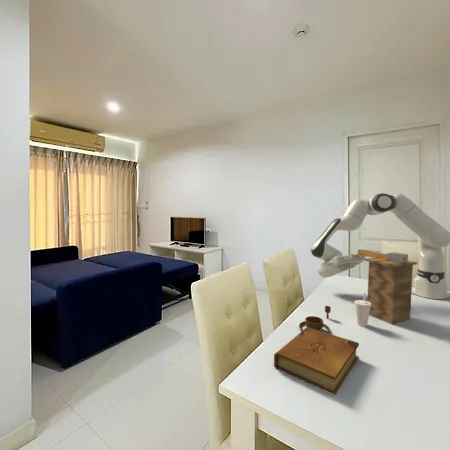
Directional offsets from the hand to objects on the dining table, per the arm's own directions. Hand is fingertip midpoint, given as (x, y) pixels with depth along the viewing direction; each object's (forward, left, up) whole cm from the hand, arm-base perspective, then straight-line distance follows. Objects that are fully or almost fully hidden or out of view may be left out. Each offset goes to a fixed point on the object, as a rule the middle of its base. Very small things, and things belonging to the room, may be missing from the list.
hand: (359, 254), depth 133 cm
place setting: (+33, -17, -27) cm, 46 cm away
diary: (+60, -18, -26) cm, 68 cm away
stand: (+11, +11, -26) cm, 30 cm away
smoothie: (+24, -1, -26) cm, 36 cm away
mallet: (+9, +8, 0) cm, 12 cm away
